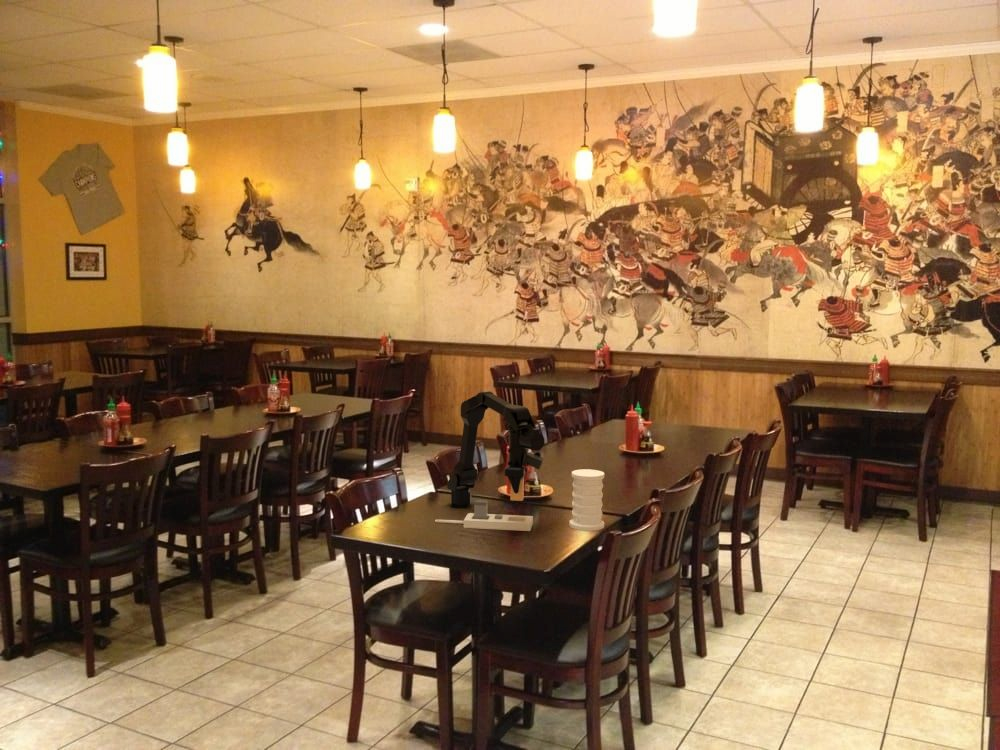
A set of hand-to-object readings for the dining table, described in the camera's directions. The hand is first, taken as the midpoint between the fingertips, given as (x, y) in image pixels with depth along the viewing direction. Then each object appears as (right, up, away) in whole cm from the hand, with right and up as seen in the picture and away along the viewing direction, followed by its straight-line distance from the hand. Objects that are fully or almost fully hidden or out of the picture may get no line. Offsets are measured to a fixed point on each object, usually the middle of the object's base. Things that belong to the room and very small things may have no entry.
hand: (516, 491), depth 291 cm
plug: (0, -3, 0) cm, 3 cm away
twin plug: (-12, -11, +3) cm, 17 cm away
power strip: (-11, -11, +3) cm, 16 cm away
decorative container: (+23, -12, +3) cm, 26 cm away
